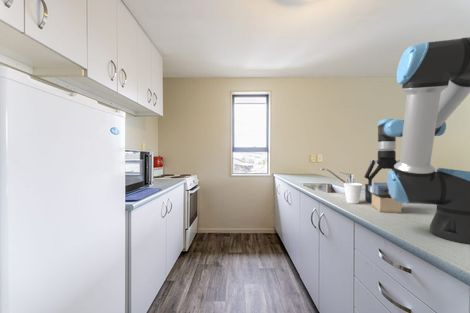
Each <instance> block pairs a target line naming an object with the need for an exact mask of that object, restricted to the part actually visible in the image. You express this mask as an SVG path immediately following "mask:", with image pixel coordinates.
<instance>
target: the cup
mask: <svg viewBox="0 0 470 313" xmlns="http://www.w3.org/2000/svg"><path fill="white" fill-rule="evenodd" d="M342 184H343V188H344V194H345V201H346V203H347V204H351V205H357V204H359V202H360V197H361V193H362V188H363V184H362V183H359V182H344V183H342Z"/></svg>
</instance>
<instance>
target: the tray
mask: <svg viewBox="0 0 470 313" xmlns="http://www.w3.org/2000/svg"><path fill="white" fill-rule="evenodd" d="M402 203H403V202H396V201H394V200H393V199H392V197H391V195H390V193H389V194H380V195H377V194H372V203H371V207H372V208H373V209H374V210H376V211H378V212H379V213H386V214H387V213H388V214H402V207H403V206H402Z"/></svg>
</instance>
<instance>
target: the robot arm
mask: <svg viewBox="0 0 470 313" xmlns="http://www.w3.org/2000/svg"><path fill="white" fill-rule="evenodd" d="M396 83H397V84H399V85H401V86H402V87H401V90H402V91H403V92H405V94H406V100H405V107H404V108H405V110H404V117H403V118H404V119H403V120H402V119H399V118H398V119H396V118H395V119H394V118H383V119H379V121H378V122H377V150H378V151H377V160H373V159H371V160H370V164H369V166H368V168H367V170H366V172H365V174H364V176H363V177H364V179H367V180H368V181H367V182H368V183H367V184H368V185H369V186H370V192H371V193H374V182H375V180H374V178H375V177H376V176H377V174H378V173H379V172H380V171H381V170H382V169H383V170H385V169H387V170H388V169H389V170H388V171H387V173H386V183H387V185H388V189H389V194H390V195H391V197H392V199H393V200H394V201H396V202H402V203H403V204H404V203H405V204H419V205H420V204H421V205H433V206H436V211H435V214H434V215H433V218H432V220H431V222H430V224H429V232H430V234H432V235H434V236H436V237H439V238H442V239H445V240H448V241H453V242H458V243H463V244H470V171H467V170H461V169H452V168H443V167H438V168H437V169H436V168H435V167H434V166H433V165H432V164H431V161H432V156H433V155H432V154H433V150H434V149H433V148H434V141H435V137H437V136H438V137H440V136H443V135H444V134H445V132H446V129H447V123H446V121H447V120H448V118H450V116H452V114H453V113H454V112H455V111H456V109H458V108H459V106H460V105H461V104H462V102H463V101H464V100H465V99H466V98H467V97H468V95H470V36H468V37H461V38H456V39H446V40H445V39H444V40H437V41H428V42H423V43H418V44H414V45H410V46H409V47H408V48H406V50H404V51H403V53H402V55H401V57H400V60H399V62H398V65H397V70H396ZM397 138H401V146H400V147H401V148H400V156H399V160H397V159H396V157H397V156H396V150H397V144H396V143H397V141H396V139H397ZM376 164H377V167H376V168H375V169H374V167H375V165H376ZM373 169H374V170H373ZM372 170H373V171H372Z"/></svg>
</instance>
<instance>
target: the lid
mask: <svg viewBox="0 0 470 313" xmlns="http://www.w3.org/2000/svg"><path fill="white" fill-rule="evenodd" d="M380 188H388V185H387V182H377V181H374V194H377V195H380ZM368 191H370V186H369V185H368Z"/></svg>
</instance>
